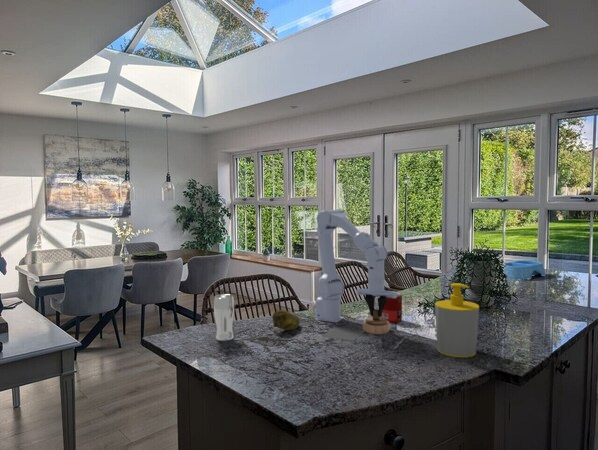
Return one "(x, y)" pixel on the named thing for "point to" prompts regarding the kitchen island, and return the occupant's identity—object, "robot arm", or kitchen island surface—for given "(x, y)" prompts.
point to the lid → (376, 318)
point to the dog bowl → (523, 269)
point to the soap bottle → (457, 324)
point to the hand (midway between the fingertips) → (376, 315)
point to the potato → (285, 320)
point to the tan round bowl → (376, 328)
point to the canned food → (393, 309)
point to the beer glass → (224, 316)
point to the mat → (344, 333)
